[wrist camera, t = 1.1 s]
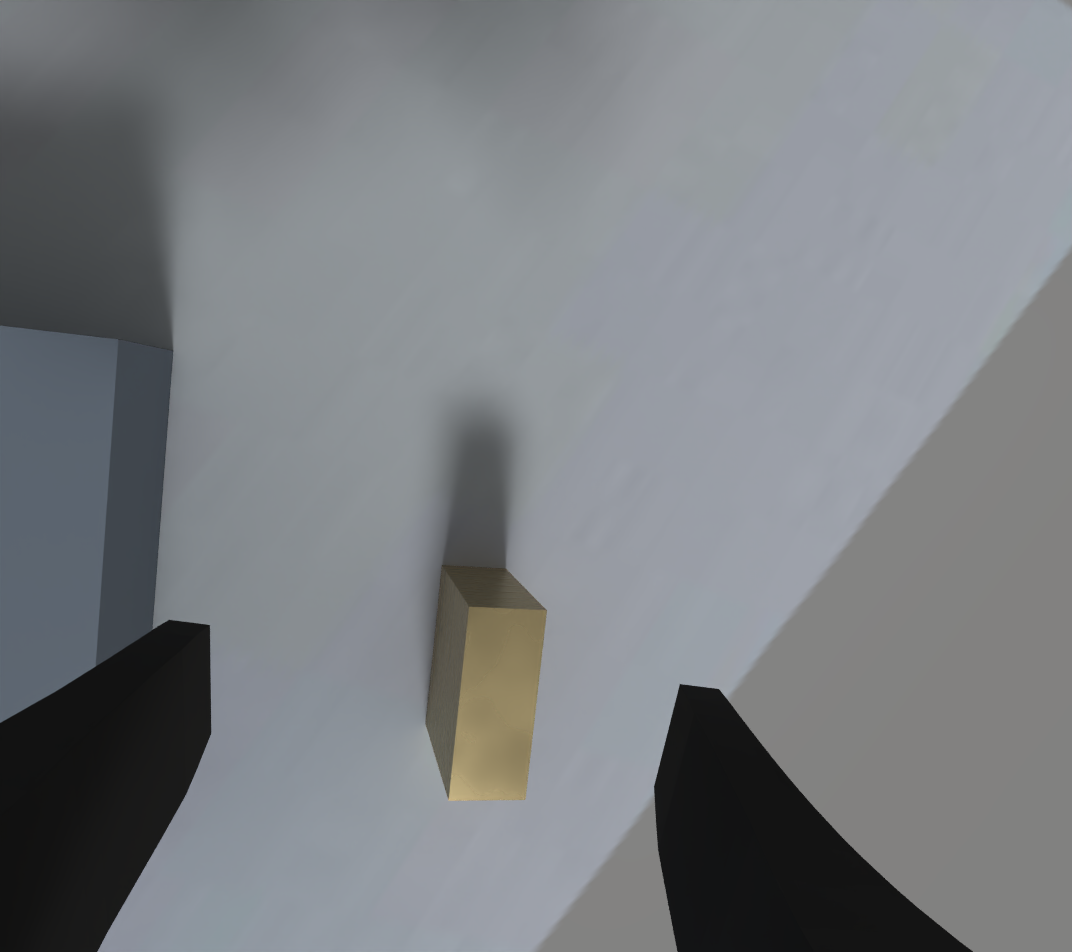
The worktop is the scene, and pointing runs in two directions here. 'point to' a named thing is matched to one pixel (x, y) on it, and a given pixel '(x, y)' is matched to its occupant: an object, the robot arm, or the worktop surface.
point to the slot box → (76, 503)
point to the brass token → (484, 683)
